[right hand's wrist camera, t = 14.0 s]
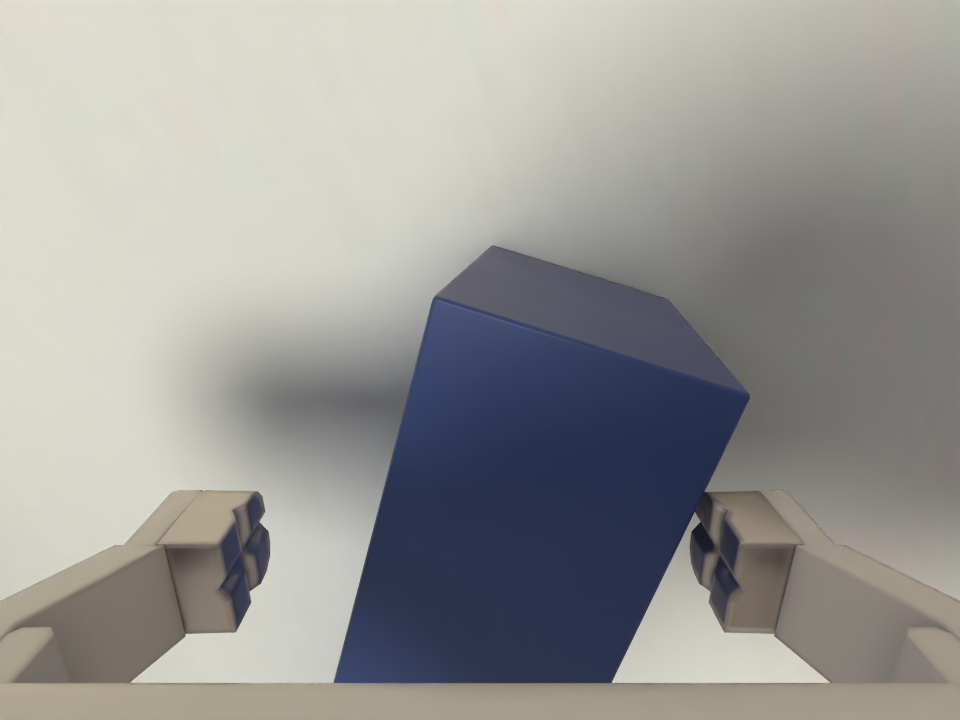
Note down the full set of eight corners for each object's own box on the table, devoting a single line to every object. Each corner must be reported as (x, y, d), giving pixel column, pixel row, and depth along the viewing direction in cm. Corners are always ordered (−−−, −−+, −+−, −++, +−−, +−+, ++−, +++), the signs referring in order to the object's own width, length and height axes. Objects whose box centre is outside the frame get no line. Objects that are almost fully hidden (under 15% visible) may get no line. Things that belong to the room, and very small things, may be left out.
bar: (491, 244, 17) (432, 295, 9) (669, 299, 17) (752, 395, 9) (343, 762, 24) (247, 1014, 17) (463, 805, 24) (418, 1080, 17)
